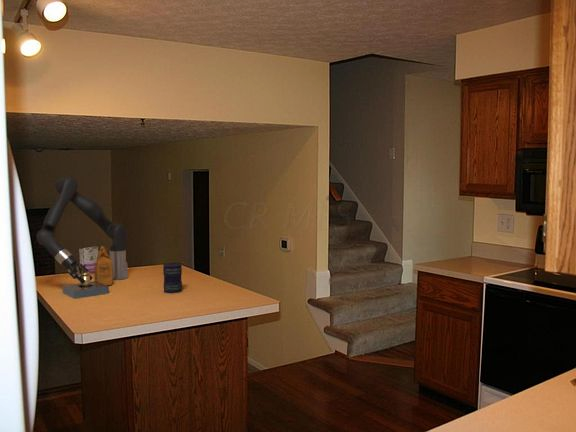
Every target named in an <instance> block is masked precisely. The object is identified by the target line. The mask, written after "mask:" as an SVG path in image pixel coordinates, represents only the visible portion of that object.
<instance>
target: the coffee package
mask: <svg viewBox="0 0 576 432" xmlns="http://www.w3.org/2000/svg"><path fill="white" fill-rule="evenodd" d="M107 250H108V249H107V248H105V246H103V245H101V246H100V248H99V254H98V256H97V259H96V265H95V273H93V274H94V275H93V277H94V278H93V279H94V281H97V282H99V283H102V284H105V285H107V286H111V285H113V268H112V260H111V259H110V255H108V253H107Z"/></svg>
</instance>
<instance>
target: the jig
mask: <svg viewBox="0 0 576 432" xmlns="http://www.w3.org/2000/svg"><path fill="white" fill-rule="evenodd" d="M61 287H62V294H64V295H66V296H67V297H70V298H72V299H75V300H76V299H82V298H91V297H95V296H102V295H108V294H110V285H105V284H102V283H99V282H97V281H95V280H94V281H92V280H91V281H90V287H84V288H81V284H80V282H79V283H71V284H64V285H62V286H61Z"/></svg>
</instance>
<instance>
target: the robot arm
mask: <svg viewBox="0 0 576 432" xmlns="http://www.w3.org/2000/svg"><path fill="white" fill-rule="evenodd" d="M78 185H79V183H78V181H77V180H76V178H74V177H71V176H69V177H61V178H58V179H56V181H55V182H54V188H55V190H56V192H57V193H59V195H58V198H57V199H56V201H55V202H54V203H53V205H51V207H50V208H49V209H48V212H47V214H46V215H45V217H44V220H43V224H42V227H41V229H40V230H39V231H38V232H37V233H36V240H37V242H38V243H39V245H41V246H44V248H45V249H47V252H48V253H50V254H49V255H51V256H52V257H53V258H54V259H55V260H56V261H57V262H58V263H59V264H60V265H61V267H63V268H64V269H65V271H66V272H67V273H68V274H69V276H70V277H72V279H73V280H75V279H76V280H77V281H79V283H80V282H81V283H82V284H83V283H84V282H85V280H84V279H83V278H82V277H81V276H80V274H79V273H81V272H89V270H88V269H87V268H86V267H84V266H83V265H82V264H80V263H79V264H78V262H79V261H78V259H77V258H76V257H75V256H74V255H73V254H72V253H71V252H70V251H69V250H68V249H67V248H65V247H64V246H63V245H62V244H61V243H59V241H58V240H57V239H56V238H55V237H54V235H55V231H56V229H57V226H58V225H59V222H60V220H61V218H62V215H63V214H64V211H65V210H66V208H67V206H68V205H69V203H70V202H71V203H72V204H73V205H74V206H75V207H76V208H77V209H79V210H80V211H81V212H82V213H83V214H84V215H85V216H86V217H87V218H88V219H90V220H91V221H92V222H93V223H95V224H96V225H97V226H98V227H99V228H100V229H101V230H102V231H103V232H104V233H105V234H106V236H107V237H108V238H110V239H113V241H112V244H110V246H109V257H110V259H111V260H112V268H113V280H114V281H116V280H117V281H118V280H125V279H128V278H129V276H128V274H129V273H128V262H127V255H126V254H127V253H126V252H127V250H126V249H127V245H128V230H127V227H126V226H125V225H124V224H121V223H120V224H119V223H115V222H114V221H112V220H111V219H110V218H108V216H106V213H105V211H104V209H103V208H102V206H100V205H99V203H97V202H96V201H95V200H94V199H93V198H91V197H88V196H86V195H84V194H83V193H80V192H79V191H78V187H79V186H78ZM92 279H93V276H92V275H91V274H90V281H92Z"/></svg>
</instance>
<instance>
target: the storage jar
mask: <svg viewBox="0 0 576 432" xmlns="http://www.w3.org/2000/svg"><path fill="white" fill-rule="evenodd" d="M182 267H183V265H182V263H181V262H168V263H167V262H165V263H164V264H163V269H162V270H163V271H162V275H163V293H164V294H179V293H182V292H183V288H182V287H183V281H182V274H183V273H182V272H183V268H182Z"/></svg>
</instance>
